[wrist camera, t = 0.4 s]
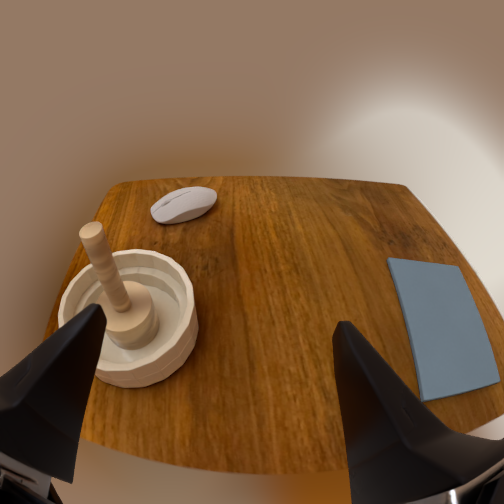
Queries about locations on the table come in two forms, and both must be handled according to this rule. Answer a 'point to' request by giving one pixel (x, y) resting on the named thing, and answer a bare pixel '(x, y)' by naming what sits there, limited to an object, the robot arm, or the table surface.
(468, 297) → the mat
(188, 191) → the computer mouse
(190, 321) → the bowl
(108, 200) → the table surface
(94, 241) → the wooden stamp
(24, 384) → the robot arm
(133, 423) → the table surface
